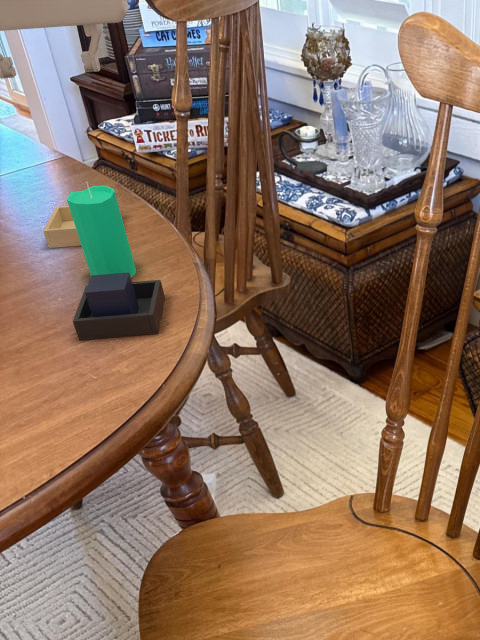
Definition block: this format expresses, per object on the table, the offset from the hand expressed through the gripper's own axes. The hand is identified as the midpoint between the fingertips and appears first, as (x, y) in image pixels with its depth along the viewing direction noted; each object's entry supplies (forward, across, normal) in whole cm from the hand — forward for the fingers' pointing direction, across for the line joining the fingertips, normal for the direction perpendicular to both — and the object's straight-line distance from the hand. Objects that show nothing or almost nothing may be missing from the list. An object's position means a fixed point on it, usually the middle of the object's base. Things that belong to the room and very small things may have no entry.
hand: (51, 74), depth 88 cm
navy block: (+23, -3, +13) cm, 27 cm away
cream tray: (+24, +6, -15) cm, 29 cm away
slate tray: (+24, -3, +13) cm, 27 cm away
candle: (+24, 0, 0) cm, 24 cm away
